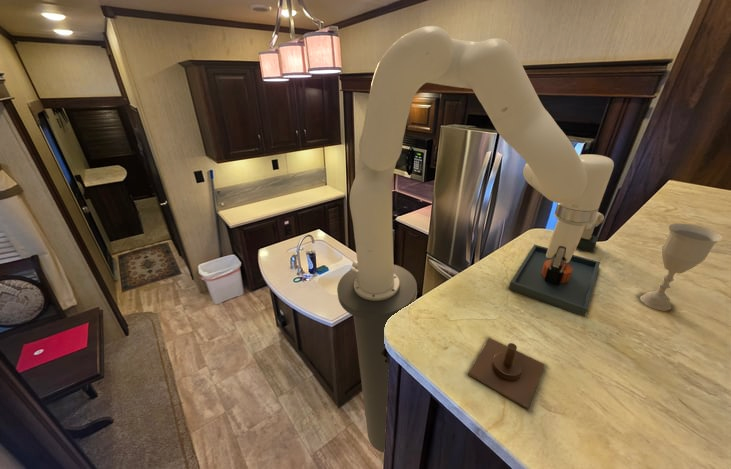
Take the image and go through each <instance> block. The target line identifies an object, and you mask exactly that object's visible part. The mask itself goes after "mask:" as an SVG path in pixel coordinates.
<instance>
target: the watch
mask: <svg viewBox="0 0 731 469" xmlns="http://www.w3.org/2000/svg"><path fill="white" fill-rule="evenodd" d="M604 219H605V216H604V214H603V213H601V212H599V211H598V212H597V215H596V217H595V220H594V222H593V223H592V224H589V225H585V228H584V231H583V234H582V236H581V239H580V241H579V243H578V246H577V248H576V250H581V251H585V252H589V253H591V254H592V253H594V251H595V248H596V245H597V243H598V239H599V236H596V235H593V232H594V230H595V228H597V227H598V226H599V225H600V224H602V223H603V222H604Z"/></svg>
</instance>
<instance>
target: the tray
mask: <svg viewBox="0 0 731 469" xmlns="http://www.w3.org/2000/svg"><path fill="white" fill-rule="evenodd" d="M547 250H548V247H547V246H542V245H538V244H535V243H534V244H533V246H532V247H531V249H530V250H529V252H528V254H527V255H526V257H525V259H524V260H523V262H522V263H521V265H520V266H519V267H518V269H517V271H516V272H515V274H514V276H513V277H512V278H511V280H510V282H509V287H508V290H511V291H513V292H516V293H519V294H521V295H524V296H528V297H530V298H533V299H535V300H538V301H541V302H544V303H547V304H549V305H552V306H554V307H557V308H560V309H563V310H566V311H568V312H571V313H574V314H576V315H579V316H581V317H586V314H587V312H588V310H589V306H590V302H591V298H592V295H593V291H594V287H595V284H596V280H597V276H598V272H599V268H600V264H601V261H598V260H595V259H592V258H591V259H590V258H588V257H584V256H579V255H575V254H573V256H572V258H571V259H570V261H569V262H568V264H569V265H570V266H571V267H572V269H573V271H572V273H571V276H570V279H569V281H568V282H566V283H560V284H559V285H555V284H552V283H549V282H546V281H545V278H544V277H543V275H542V269H543V266H544V263H545V262H546V261H547V260H552V258H553V257H552V258H547V257H546V253H547Z"/></svg>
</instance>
